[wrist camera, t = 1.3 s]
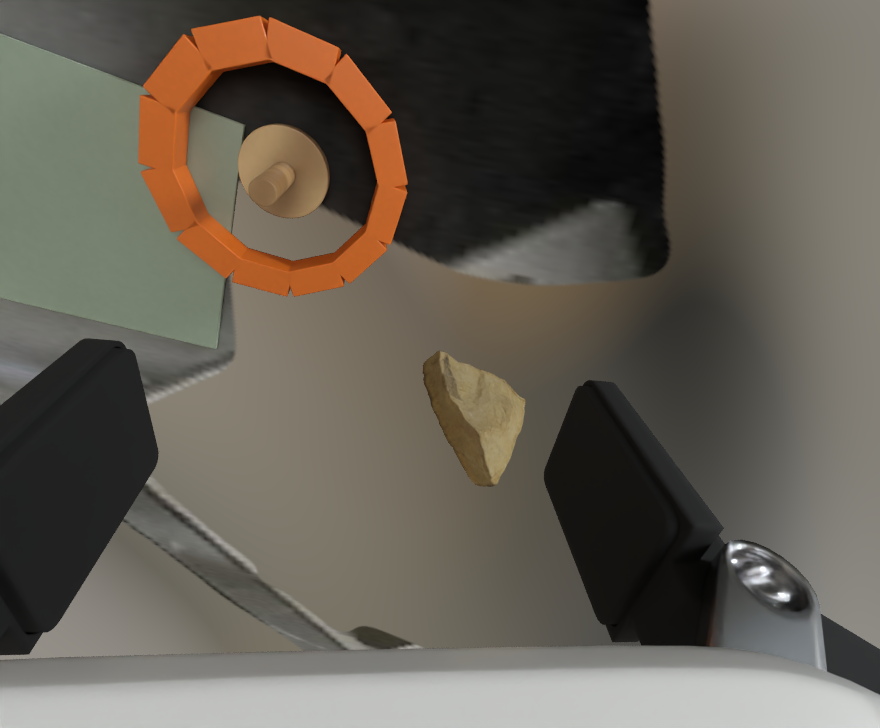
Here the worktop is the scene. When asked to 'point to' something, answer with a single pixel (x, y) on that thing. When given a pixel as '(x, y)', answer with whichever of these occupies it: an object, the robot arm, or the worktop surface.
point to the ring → (175, 189)
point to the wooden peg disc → (283, 170)
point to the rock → (474, 415)
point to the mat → (102, 201)
